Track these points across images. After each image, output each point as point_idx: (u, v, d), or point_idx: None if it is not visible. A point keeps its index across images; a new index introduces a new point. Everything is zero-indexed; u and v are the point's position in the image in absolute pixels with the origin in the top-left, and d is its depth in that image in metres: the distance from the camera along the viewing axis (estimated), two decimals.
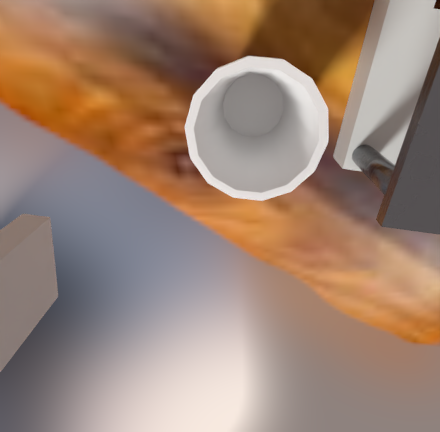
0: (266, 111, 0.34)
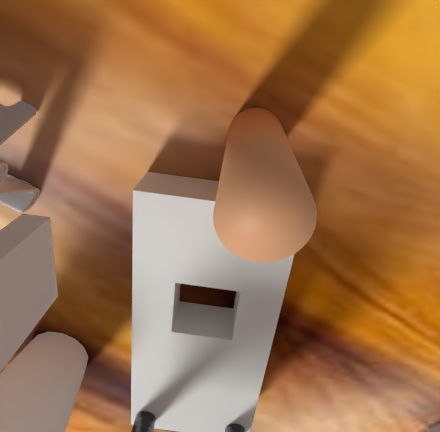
0: None
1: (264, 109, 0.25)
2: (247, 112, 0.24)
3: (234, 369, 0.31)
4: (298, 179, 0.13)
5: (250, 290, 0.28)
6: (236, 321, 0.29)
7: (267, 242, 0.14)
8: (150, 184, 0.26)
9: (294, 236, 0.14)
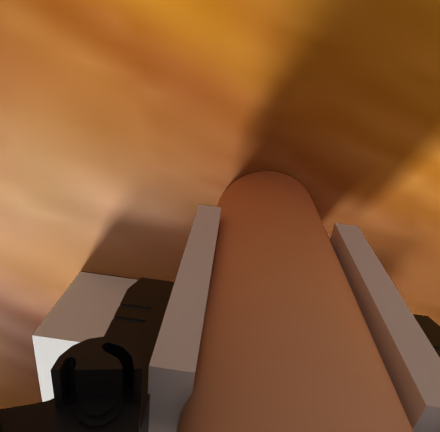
0: None
1: (283, 177, 0.13)
2: (251, 187, 0.12)
3: None
4: None
5: None
6: None
7: None
8: (73, 311, 0.14)
9: None
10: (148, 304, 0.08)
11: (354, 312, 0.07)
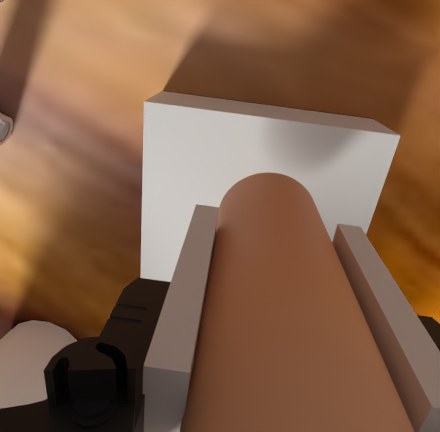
0: None
1: (285, 178, 0.13)
2: (253, 189, 0.12)
3: None
4: None
5: None
6: None
7: None
8: (168, 99, 0.18)
9: None
10: (144, 304, 0.08)
11: (356, 315, 0.07)
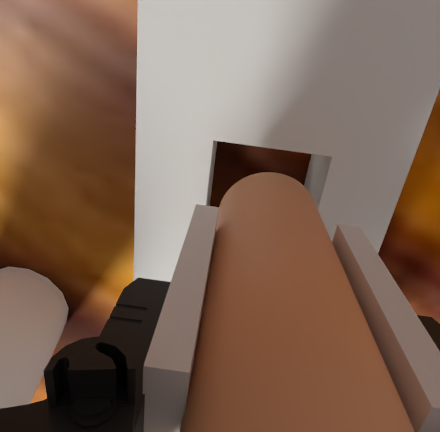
0: None
1: (285, 178, 0.13)
2: (253, 188, 0.12)
3: None
4: None
5: (350, 154, 0.15)
6: None
7: None
8: None
9: None
10: (144, 304, 0.08)
11: (356, 314, 0.07)
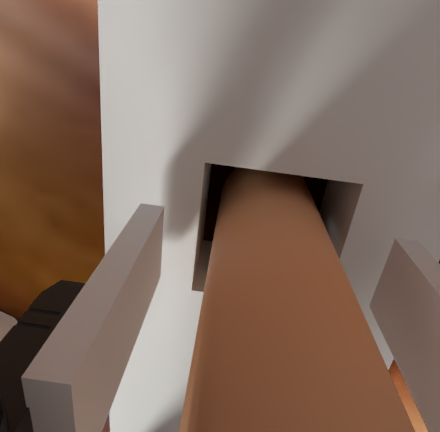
0: None
1: None
2: (252, 170, 0.14)
3: None
4: None
5: (387, 181, 0.11)
6: (341, 263, 0.13)
7: None
8: None
9: None
10: (59, 308, 0.07)
11: (333, 259, 0.09)
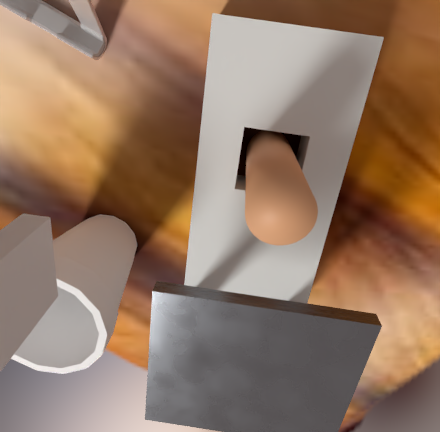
0: None
1: None
2: (263, 134, 0.30)
3: None
4: (305, 186, 0.19)
5: (320, 135, 0.27)
6: None
7: (282, 230, 0.20)
8: None
9: (301, 226, 0.20)
10: None
11: (294, 157, 0.25)
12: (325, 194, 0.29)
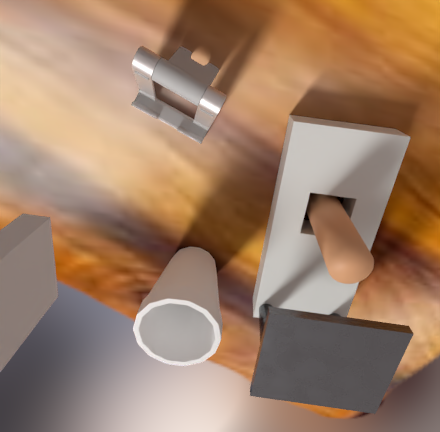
0: None
1: None
2: None
3: None
4: (367, 249, 0.31)
5: (363, 198, 0.39)
6: None
7: (350, 275, 0.32)
8: (300, 119, 0.37)
9: (363, 272, 0.31)
10: None
11: (349, 218, 0.36)
12: (365, 237, 0.41)
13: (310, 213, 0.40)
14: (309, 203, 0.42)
